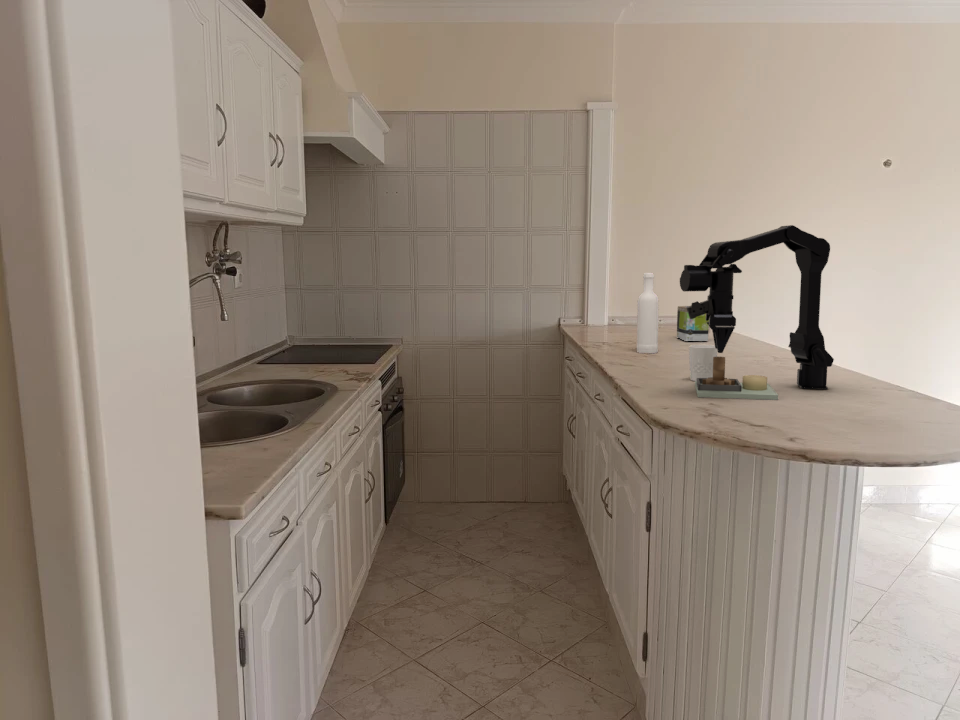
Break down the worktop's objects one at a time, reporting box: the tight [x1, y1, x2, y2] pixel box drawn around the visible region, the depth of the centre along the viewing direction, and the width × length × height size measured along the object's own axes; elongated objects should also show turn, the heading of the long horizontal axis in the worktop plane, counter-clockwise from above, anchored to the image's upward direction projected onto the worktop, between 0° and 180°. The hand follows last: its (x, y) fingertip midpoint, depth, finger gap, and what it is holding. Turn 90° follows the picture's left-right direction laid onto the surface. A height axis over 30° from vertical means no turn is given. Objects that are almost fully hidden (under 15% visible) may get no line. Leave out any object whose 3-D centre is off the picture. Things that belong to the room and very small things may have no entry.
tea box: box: [676, 305, 710, 342], centre depth 297 cm, size 15×10×15 cm
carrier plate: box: [694, 374, 779, 401], centre depth 180 cm, size 19×17×4 cm
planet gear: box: [702, 356, 735, 385], centre depth 181 cm, size 8×7×8 cm
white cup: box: [688, 344, 718, 382], centre depth 199 cm, size 8×8×10 cm
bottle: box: [636, 272, 660, 354], centre depth 259 cm, size 8×8×30 cm
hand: (718, 350), depth 180 cm, fingers open, 9 cm apart
